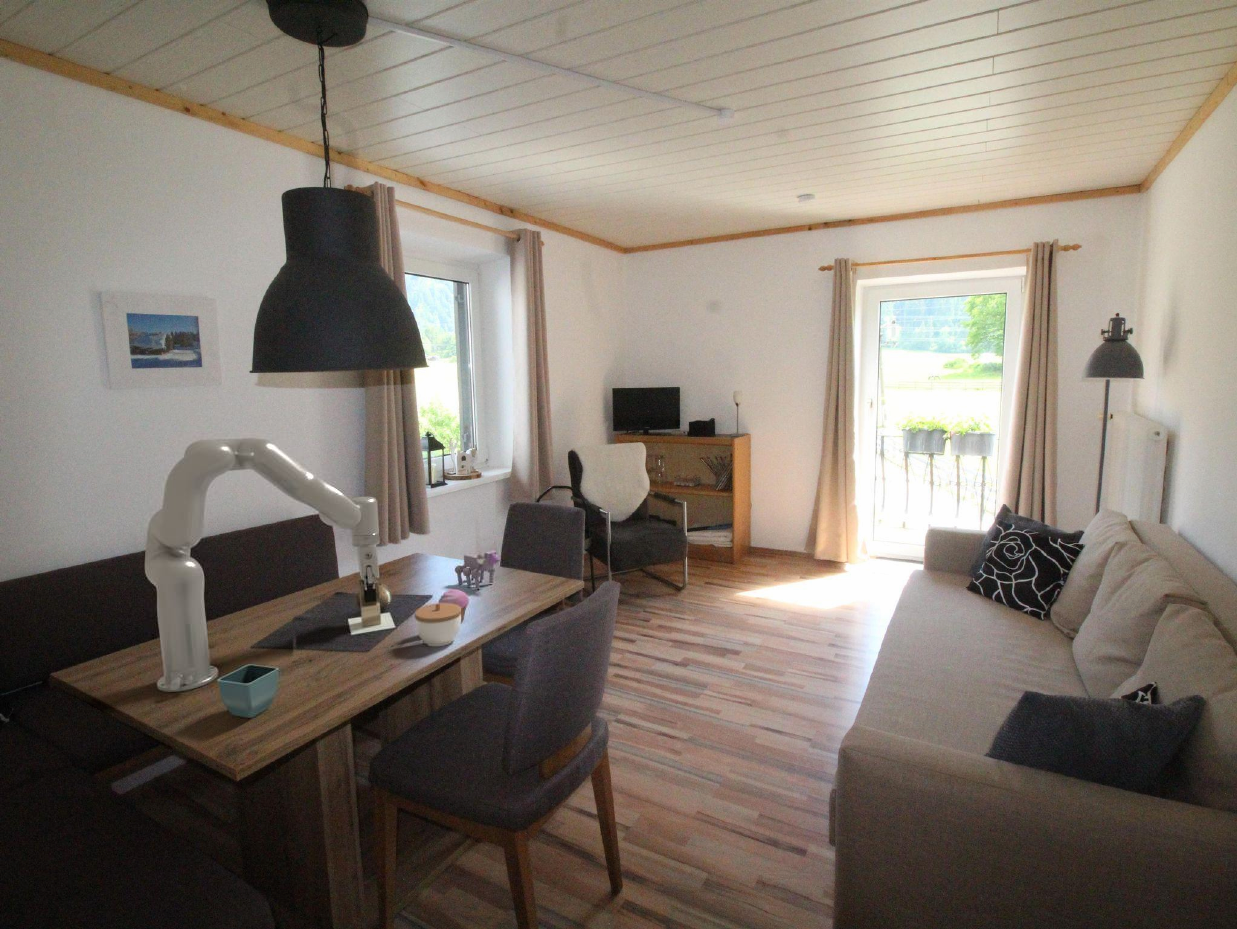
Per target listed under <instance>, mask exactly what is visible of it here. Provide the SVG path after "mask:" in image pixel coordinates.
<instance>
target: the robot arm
mask: <svg viewBox="0 0 1237 929" xmlns="http://www.w3.org/2000/svg"><path fill="white" fill-rule="evenodd" d="M242 470H243V471H244V470H252V471H254V472H255V473H257V474H258V475H260V476H261V477H262V478H263V479H265V480H267V481H268V482H269V483H271V484H272V485H273V486H274V487H276V488H277V490H278V489H279V490H280V491H281V492H282V493H283V494H284V495H286V496H288V497H289V498H291V499H293V500H295V501H296V502H299V503H302V504H304V505H307V506H308V507H310V508H311V509H312V508H313V509H314V510H315V511H317V512H318V516H319V519H320V520H321V521H322V522H323V523H324V524H326V525H328V526H331V527H335V528H338V529H341V530H343V531H347V530H351V531H350V532H351V545H352V547H354V548H356V553H357V565H358V571H359V574H360V575H359V576H360V577H361V580H364V586H365V589H364V600H365V603H369V602H375V601H376V588H375V582H374V578H377V579H379V578H380V568H379V558H378V556H379V554H378V549H377V545H379V544H380V542H381V541H380V527H379V526H380V525H379V523H380V522H379V509H378V508H379V507H378V506H379V505H378V500H377V499H376V497H373V496H358V497H355V498H349V497H347V495H345V494H343V493H342V492H341V491H340V490H339V489H337V488H335V487H333V485H332V484H329V483H328V482H326V481H325V480H323V479H322V478H321V477H319V476H318V475H316V474H315V473H313V472H312V471H310V470H309V468H307V467H305V466H304V464H302V463H300V462H299V461H298V460H296V459H295V458H294V457H293V456H291V455H290V454H289V453H288V452H286V451H285V450H284V449H282V448H281V447H280V446H279V445H278V444H276V443H275V442H273V441H271V440H269V439H265V438H257V437H246V438H245V437H244V438H223V439H222V438H221V439H218V438H217V439H199V440H196V441H194V442H192V443H190V444H189V445H188V446H187V447H186V449H185V450H184V454H183V457H182V458H181V459H180V460H179V461H178V462H177V463H176V464H175V465H174V466H173V468H172V469H171V470H170V472H169V474H168V476H167V478H166V482H165V485H164V486H165V487H164V490H163V491H164V492H163V498H162V506H161V509H159V510H158V511H156V512H155V513H154V514H153V515H152V517H151V518H150V520H149V523H148V525H147V533H146V545H145V553H144V556H145V557H144V573H145V576H146V577H147V578H146V579H147V580H148V581H149V582H150V583H151V584H153V586H154V587H156V588H155V589H156V613H157V623H158V624H157V625H158V630H159V631H158V632H159V638H160V639H159V640H160V650H161V660H162V667H163V668H162V669H163V676H162V677H159V679H158V680H157V682H156V687H157V689H158V690H159V691H162V692H165V693H166V692H167V693H173V692H175V693H176V692H177V693H178V692H182V691H188V690H189V691H190V690H193V689H196V688H199V687H203V686H205V685H207V684H209V683H211V682H213V681H214V680H215V679H216V678H217V677H218V676H219V669H218V668H217V667H215V666H213V665H211V660H210V649H209V640H208V629H207V618H206V610H205V608H206V607H205V574H204V570H203V567H202V566H201V564H200V563H199V562H198V561H197V560H196V559H195V558H193V557H191V548H193V547H195V546H196V545H197V544H199V542H200V541H201V539H202V537H203V533H204V519H205V506H206V500H207V499H206V498H207V493H208V489H209V487H210V485H211V484H212V482H213V481H215V479H216V478H218V477H220V476H222V475H224V474H226V473H227V472H232V471H234V472H235V471H242ZM366 581H368V582H367V583H366Z"/></svg>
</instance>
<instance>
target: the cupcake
mask: <svg viewBox="0 0 1237 929" xmlns="http://www.w3.org/2000/svg"><path fill="white" fill-rule="evenodd" d="M437 603H451V604H456V605H459V606H460V607H461V622H463V621H464V619H465V615H466V610H467V608H468V606H469V603H470V600H469V596H468V595H467V593H466V592H464V591H462V590H460V589H449V590H446V591H445V592H444V593H443V594H442V595H441V596H440V598H439V599H438V602H437Z"/></svg>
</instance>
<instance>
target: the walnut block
mask: <svg viewBox="0 0 1237 929" xmlns="http://www.w3.org/2000/svg"><path fill="white" fill-rule="evenodd" d="M367 582H368V581H366V583H367ZM374 582H375V588H376V601H375V602H369V603H376V602H379V603H380V602H381V601H380V600H381V599H380V588H379V587H380V585H379V582H380V581H379V580H378V578H377V577H376V578H375V577H374ZM358 586H359V587H358V588H359V599H360V600H359V601H360V602H361V604H362V605H363V604H369V603H365V600H364V589H365V586H364V580H362V579H358Z"/></svg>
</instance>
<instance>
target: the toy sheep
mask: <svg viewBox="0 0 1237 929" xmlns="http://www.w3.org/2000/svg"><path fill="white" fill-rule="evenodd" d="M499 562H501V558H499V556H498V553H497V550H494V549H491V550H489V551H485V552H484V553H478V554H475V553H471V552H470V553H468V554H463V565H457V566H455V568H454V572H455V574H457V582H458V585H459V584H462V585H463V578H462V574H463V576H465V580H466V586H468V587H470V586H471V587H472V581H471V580H472V579H475V580H474V585H475V590H476V589H479V588H480V589H481V587H480V581H482V580H485V572H488V573H489V583H493V584H494V575H495V574H494V573H495V572H496V570H497V568H496V566H495V564H497V563H499ZM468 587H467V588H468ZM471 587H470V588H471ZM480 589H479V590H480Z"/></svg>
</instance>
